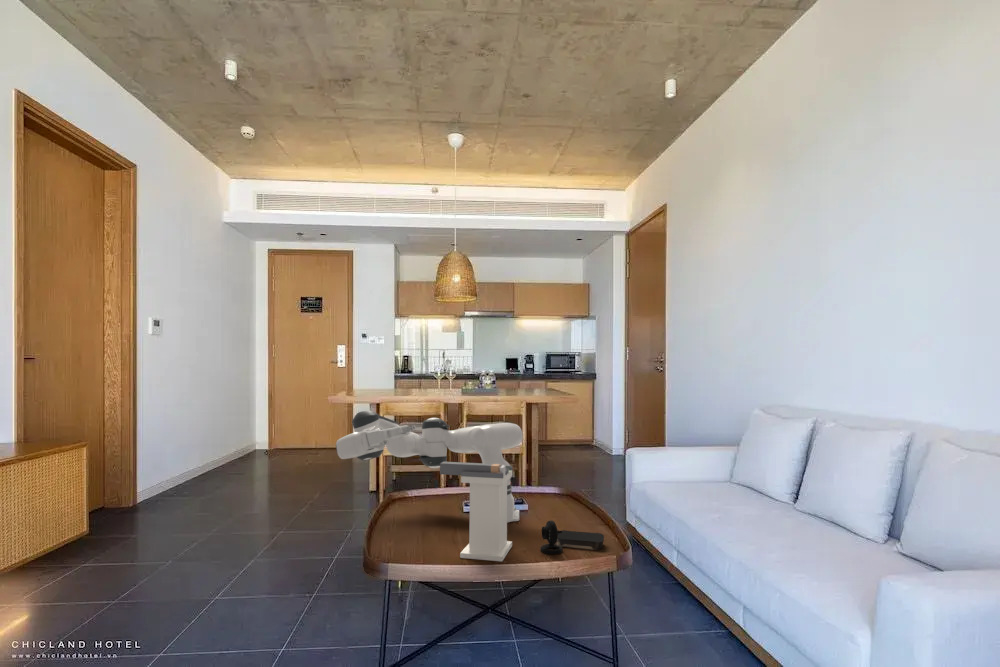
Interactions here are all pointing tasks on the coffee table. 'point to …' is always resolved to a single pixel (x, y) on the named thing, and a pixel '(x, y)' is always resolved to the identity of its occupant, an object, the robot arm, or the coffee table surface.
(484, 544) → the tester stand
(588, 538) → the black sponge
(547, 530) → the webcam
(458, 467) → the long grey square bar
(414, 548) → the coffee table surface
